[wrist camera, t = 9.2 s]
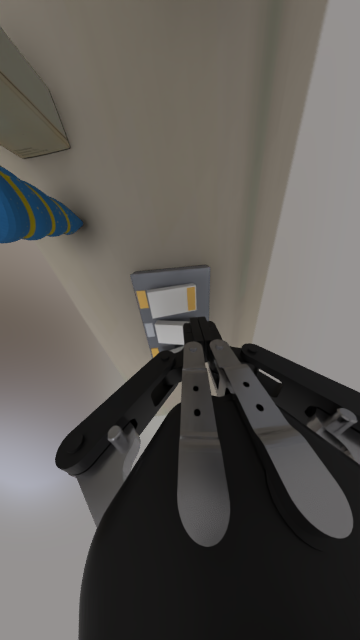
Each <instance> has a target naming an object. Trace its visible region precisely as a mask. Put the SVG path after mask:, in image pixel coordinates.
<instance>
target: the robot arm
mask: <svg viewBox="0 0 360 640" xmlns="http://www.w3.org/2000/svg"><path fill="white" fill-rule="evenodd" d="M189 322H190V323H184V325H183V336H184V347H183V349H182V350H181V351H179V352H177V353H173V352H172V351H169V350H165V351H161V352H159V353H158V354H157V355H156V356H155V357H154V358H152V359H151V360H150V361H149V362H148V363H147V364H146V365H145V366H144V367H142V368H141V369H140V370H139V371H138V372H137V373H136V374H135V375H134V376H132V377H131V378H130V379H129V380H128V381H127V382H126V383H125V384H124V385H122V386H121V387H120V388H119V389H118V390H117V391H116V392H115V393H114V394H112V395H111V396H110V397H109V398H108V399H107V400H106V401H105V402H104V403H103V404H101V405H100V406H99V407H98V408H97V409H96V410H95V411H94V412H92V413H91V414H90V415H89V416H88V417H87V418H86V419H85V420H84V421H82V422H81V423H80V424H79V425H78V426H77V427H76V428H75V429H74V430H72V431H71V432H70V433H69V434H68V435H67V436H66V438H65V439H64V440H63V441H62V443H61V445H60V446H59V448H58V451H57V454H56V458H55V462H56V466H57V467H58V468H60V469H61V470H64V471H66V472H67V473H68V474H69V475H71V476H73V477H75V478H77V480H78V482H79V485H80V488H81V490H82V492H83V495H84V497H85V500H86V502H87V505H88V507H89V510H90V512H91V514H92V517H93V519H94V522H95V524H96V527H97V530H96V532H95V535H94V538H93V540H92V543H91V546H90V549H89V552H88V556H87V560H86V564H85V568H84V573H83V579H82V585H81V593H80V606H79V640H360V393H359V392H357V391H355V390H353V389H351V388H349V387H346V386H344V385H342V384H340V383H338V382H335V381H333V380H331V379H328V378H327V377H325V376H323V375H320V374H318V373H316V372H314V371H312V370H309V369H307V368H305V367H303V366H301V365H298V364H296V363H294V362H292V361H290V360H288V359H286V358H283V357H281V356H279V355H277V354H275V353H273V352H270V351H268V350H266V349H264V348H262V347H259V346H257V345H255V344H244V345H243V346H242V348H236V347H231V346H229V344H228V343H227V342H225V341H223V340H222V338H221V336H220V334H219V331H218V329H217V328H216V325H215V324H214V323H213V322H212V321H207V320H206V317H205V316H203V317H192V318H189ZM205 362H208V364H209V373H210V376H211V378H212V381H213V384H214V387H215V390H216V393H217V396H212V395H211V391H210V384H209V378H208V372H207V368H206V367H205ZM259 369H261V370H263V371H264V372H266V373H268V374H270V375H271V376H273V377H275V378H277V379H279V380H280V381H281V382H282V383H278V382H276V381H275V380H273V379H271V378H270V377H268V376H266V375H264V374H263V373H261V372H259ZM181 381H182V394H181V403H179V404H177V405H176V406H175V407H174V408H173V409H172V410H171V411H170V412H169V413H168V415H167V416H166V418H165V419H164V421H163V422H162V424H161V425H160V427H159V429H158V430H157V432H156V433H155V435H154V436H153V438H152V440H151V441H150V443H149V444H148V446H147V447H146V449H145V450H144V452H143V453H142V455H141V456H140V458H139V460H138V461H137V463H136V464H135V466H134V467H133V469H132V471H131V467H132V464H133V462H134V460H135V458H136V456H137V454H138V452H139V449H140V437H139V435H140V434H141V433H142V432H143V430H144V429H145V428H146V426H147V425H148V423H149V422H150V421H151V419H152V418H153V417H154V416H155V414H156V413H157V412H158V410H159V409H160V408H161V406H162V405H163V404H164V402H165V401H166V400H167V398H168V397H169V396H170V394H171V393H172V392H173V391H174V389H175V388H176V387H177V385H178V383H179V382H181Z"/></svg>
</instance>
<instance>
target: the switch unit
mask: <svg viewBox="0 0 360 640" xmlns="http://www.w3.org/2000/svg"><path fill="white" fill-rule="evenodd" d="M130 276H131V280H132V284H133V288H134V291H135V295H136V299H137V303H138V306H139V310H140V314H141V318H142V321H143V325H144V329H145V333H146V336H147V340H148V344H149V348H150V351H151V355H152V358H154V357H155V356H156V355H157V354H158V353H159V352H161V351H165V350H172V349H175V348H179V347H182V346H184V345H179V344H166V343H158V338H157V333H156V329H155V323H156V322H157V320H161V321H189V318H192V317H203V316H205V317H206V320H207V321H209V295H210V267H209V266H207V265H199V266H188V267H178V268H168V269H157V270H147V271H137V272H134V273H133V274H131V275H130ZM190 283H193V284H195V285H196V310H195V311H190V312H185V313H179V314H174V315H169V316H164V317H159V318H154V319H153V318H152V313H151V309H150V304H149V300H148V295H147V290H151V289H158V288H164V287H171V286H177V285H184V284H190Z"/></svg>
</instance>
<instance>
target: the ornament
mask: <svg viewBox="0 0 360 640" xmlns="http://www.w3.org/2000/svg"><path fill="white" fill-rule="evenodd" d="M81 226H83V222H82V220H81V219H79V218H78V217H77V216H76V215H75V214H74V213H73V212H72V211H71V210H69V209H68V208H67V207H66V206H65V205H63V204H62V203H61V202H59V201H57V200H56V199H54V198H51V197H49V196H47V195H46V194H44V193H43V192H42V191H40V190H39V189H37V188H36V187H34V186H33V185H31V184H29V183H27V182H25V181H22V180H20V179H19V178H17V177H16V176H15V175H14V174H12V173H11V172H9V171H8V170H6V169H5V168H3V167H1V166H0V243H11V242H14V241H18V240H20V239H26V240H38V239H41V238H43V237H45V236H51V237H54V236H59V235H61V234H67V235H70V234H73V233H75V232H76V231H77V230H78V229H79V228H80V227H81Z"/></svg>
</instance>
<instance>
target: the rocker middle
mask: <svg viewBox="0 0 360 640" xmlns="http://www.w3.org/2000/svg"><path fill="white" fill-rule="evenodd" d="M184 323H190V322H189V321H161V320H157V322H156V323H155V329H156V333H157V338H158V343H166V344H179V345H184V336H183V325H184Z"/></svg>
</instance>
